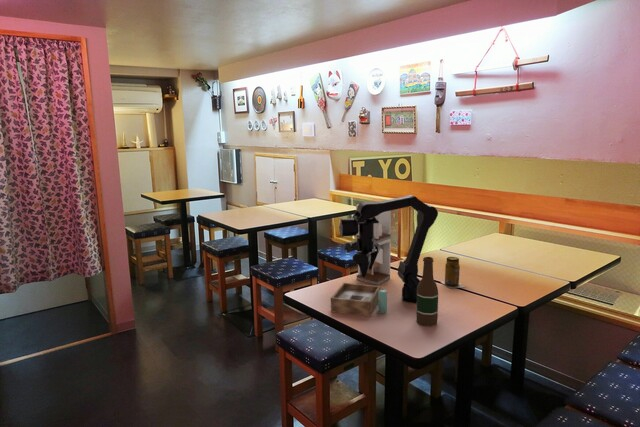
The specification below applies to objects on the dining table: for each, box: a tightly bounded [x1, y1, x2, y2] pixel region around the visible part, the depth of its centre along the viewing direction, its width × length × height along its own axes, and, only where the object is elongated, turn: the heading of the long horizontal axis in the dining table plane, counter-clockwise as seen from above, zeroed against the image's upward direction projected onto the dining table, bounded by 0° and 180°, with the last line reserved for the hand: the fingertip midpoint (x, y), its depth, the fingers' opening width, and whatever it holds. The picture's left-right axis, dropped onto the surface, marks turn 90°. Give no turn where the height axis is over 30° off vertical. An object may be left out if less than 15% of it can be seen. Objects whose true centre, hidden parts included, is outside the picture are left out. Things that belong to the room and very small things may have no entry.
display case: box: [355, 203, 392, 286], centre depth 203 cm, size 11×11×35 cm
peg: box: [377, 289, 388, 314], centre depth 170 cm, size 3×3×8 cm
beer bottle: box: [415, 256, 439, 327], centre depth 158 cm, size 8×8×24 cm
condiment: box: [440, 256, 465, 289], centre depth 196 cm, size 7×8×12 cm
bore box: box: [330, 282, 381, 317], centre depth 176 cm, size 16×18×6 cm
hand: (367, 273), depth 176 cm, fingers open, 9 cm apart
